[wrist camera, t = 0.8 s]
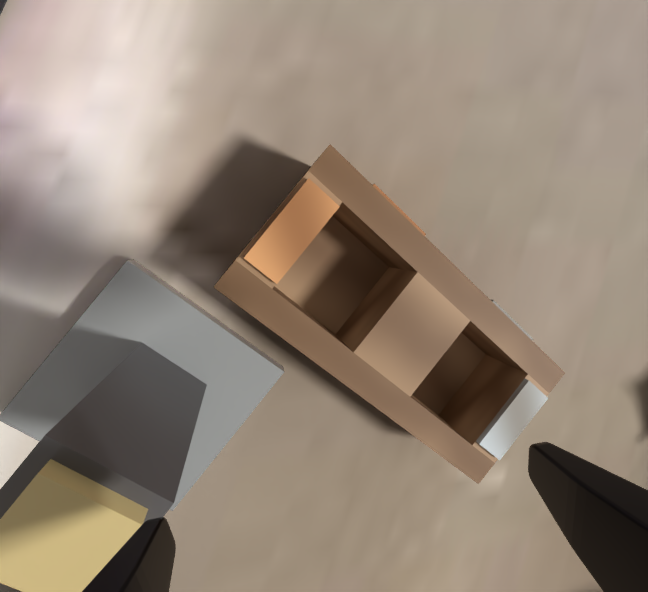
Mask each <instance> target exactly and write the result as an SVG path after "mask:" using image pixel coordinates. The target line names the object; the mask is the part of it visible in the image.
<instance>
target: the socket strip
mask: <svg viewBox="0 0 648 592" xmlns="http://www.w3.org/2000/svg"><path fill="white" fill-rule="evenodd" d="M425 235H426V234H425V233H424V232H423V231H422V230H421V229H420V228H419V227H418V226H417V225H416V224H415V223H414V222H413V221H412V220H411V219H410V218H409V217H408V216H407V215H406V214H405V213H404V212H403V211H402V210H401V209H400V208H399V207H398V206H397V205H396V204H395V203H394V202H393V201H392V200H390V199H389V198H388V197H387V196H386V195H385V194H384V193H383V192H382V191H381V190H380V189H379V188H378V187H377V186H376V185H375V184H373V185H372V184H371V183H370V182H368V181H367V180H366V179H365V178H364V177H363V176H362V175H361V174H360V173H359V172H358V171H357V170H356V169H355V168H354V167H353V166H352V165H351V164H350V163H349V162H348V161H347V160H346V159H345V158H344V157H343V156H342V155H341V154H340V153H339V152H338V151H337V150H336V149H335V148H334V147H332V146H331V145H329V146H328V147H327V148H326V150H325V151H324V152H323V153H322V154H321V156H320V157H319V158H318V159H317V160H316V161H315V163H314V164H313V165H312V166H311V167H310V169H309V170H308V171H307V172H306V173H305V175H304V176H303V177H302V178H301V180H300V181H299V182H298V183H297V185H296V186H295V187H294V188H293V189H292V191H291V192H290V193H289V194H288V196H287V197H286V198H285V199H284V200H283V202H282V203H281V204H280V205H279V207H278V208H277V209H276V210H275V212H274V213H273V214H272V215H271V216H270V218H269V219H268V220H267V221H266V223H265V224H264V225H263V226H262V227H261V229H260V230H259V231H258V232H257V234H256V235H255V236H254V237H253V238H252V240H251V241H250V242H249V243H248V245H247V246H246V247H245V248H244V250H243V251H242V252H241V253H240V254H239V256H238V257H237V258H236V259H235V261H234V262H233V263H232V264H231V265H230V267H229V268H228V269H227V270H226V272H225V273H224V274H223V275H222V277H221V278H220V279H219V280H218V282H217V283H216V285H215V286H214V288H215V289H217V290H218V291H219V292H221V293H222V294H223V295H225V296H226V297H227V298H229V299H230V300H231V301H233V302H234V303H235V304H237V305H238V306H239V307H241V308H242V309H243V310H245V311H246V312H248V313H249V314H250V315H252V316H253V317H254V318H256V319H257V320H258V321H260V322H261V323H262V324H264V325H265V326H266V327H268V328H269V329H270V330H272V331H273V332H274V333H276V334H277V335H279V336H280V337H281V338H283V339H284V340H285V341H287V342H288V343H289V344H291V345H292V346H293V347H295V348H296V349H297V350H299V351H300V352H301V353H303V354H304V355H305V356H307V357H308V358H309V359H311V360H312V361H314V362H315V363H316V364H318V365H319V366H320V367H322V368H323V369H324V370H326V371H327V372H328V373H330V374H331V375H332V376H334V377H335V378H336V379H338V380H339V381H340V382H342V383H343V384H345V385H346V386H347V387H349V388H350V389H351V390H353V391H354V392H355V393H357V394H358V395H359V396H361V397H362V398H363V399H365V400H366V401H367V402H369V403H370V404H371V405H373V406H374V407H375V408H377V409H378V410H380V411H381V412H382V413H384V414H385V415H386V416H388V417H389V418H390V419H392V420H393V421H394V422H396V423H397V424H398V425H400V426H401V427H402V428H404V429H405V430H406V431H408V432H409V433H411V434H412V435H413V436H415V437H416V438H417V439H419V440H420V441H421V442H423V443H424V444H425V445H427V446H428V447H429V448H431V449H432V450H433V451H435V452H436V453H437V454H439V455H440V456H441V457H443V458H444V459H446V460H447V461H448V462H450V463H451V464H452V465H454V466H455V467H456V468H458V469H459V470H460V471H462V472H463V473H464V474H466V475H467V476H468V477H470V478H471V479H472V480H474V481H475V482H477V483H478V484H479V483H480V482H481V480H482V479H483V478H484V476H485V475H486V474H487V473H488V471H489V470H490V469H491V467H492V466H493V465H494V464H495V462H496V461H497V460H498V459H499V460H500V459H501V458H502V457H503V456H504V454H505V453H506V452H507V450H508V449H509V448H510V447H511V445H512V444H513V443H514V441H515V440H516V439H517V438H518V436H519V435H520V434H521V432H522V431H523V430H524V429H525V427H526V426H527V425H528V423H529V422H530V421H531V420H532V418H533V417H534V416H535V414H536V413H537V412H538V411H539V409H540V408H541V407H542V406H543V404H544V403H545V402H546V400H547V399H548V397H547V396H548V394H549V393H550V392H551V391H552V389H553V388H554V387H555V385H556V384H557V383H558V382H559V380H560V379H561V378H562V376H563V375H564V374H565V372H564V371H563V370H562V369H561V368H560V367H559V366H558V365H557V364H556V363H555V362H554V361H553V360H551V359H550V358H549V357H548V356H547V355H546V354H545V353H544V352H543V351H542V350H541V349H540V348H539V347H538V346H537V345H536V344H535V343H534V342H533V341H532V340H533V338H532V337H531V336H530V335H529V334H528V333H527V332H526V331H525V330H524V329H523V328H522V327H521V326H520V325H519V324H518V323H516V322H515V321H514V320H513V319H512V318H511V317H510V316H509V315H508V314H507V313H506V312H505V311H504V310H503V309H502V308H501V307H500V306H499V305H498V304H497V303H496V302H495V301H494V300H490V299H489V298H488V297H487V296H486V295H485V294H484V293H483V292H482V291H481V290H480V289H478V288H477V287H476V286H475V285H474V284H473V283H472V282H471V281H470V280H469V279H468V278H467V277H466V276H465V275H464V274H463V273H462V272H461V271H460V270H459V269H458V268H457V267H456V266H455V265H454V264H453V263H452V262H451V261H450V260H449V259H448V258H447V257H446V256H445V255H444V254H443V253H441V252H440V251H439V250H438V249H437V248H436V247H435V246H434V245H433V244H432V243H431V242H430V241H429V240H428V239H427V238H426V237H425Z"/></svg>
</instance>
